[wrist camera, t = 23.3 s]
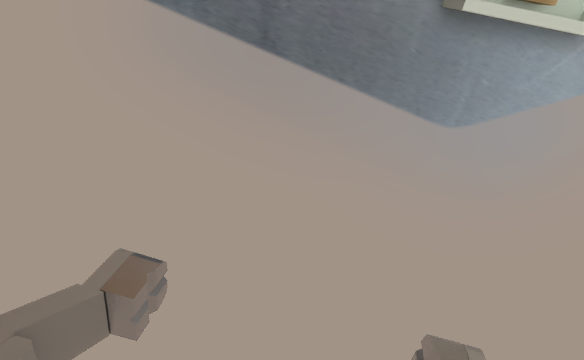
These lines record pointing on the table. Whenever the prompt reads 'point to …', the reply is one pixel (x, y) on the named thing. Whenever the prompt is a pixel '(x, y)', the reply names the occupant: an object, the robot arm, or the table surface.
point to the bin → (528, 13)
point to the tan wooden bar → (541, 2)
